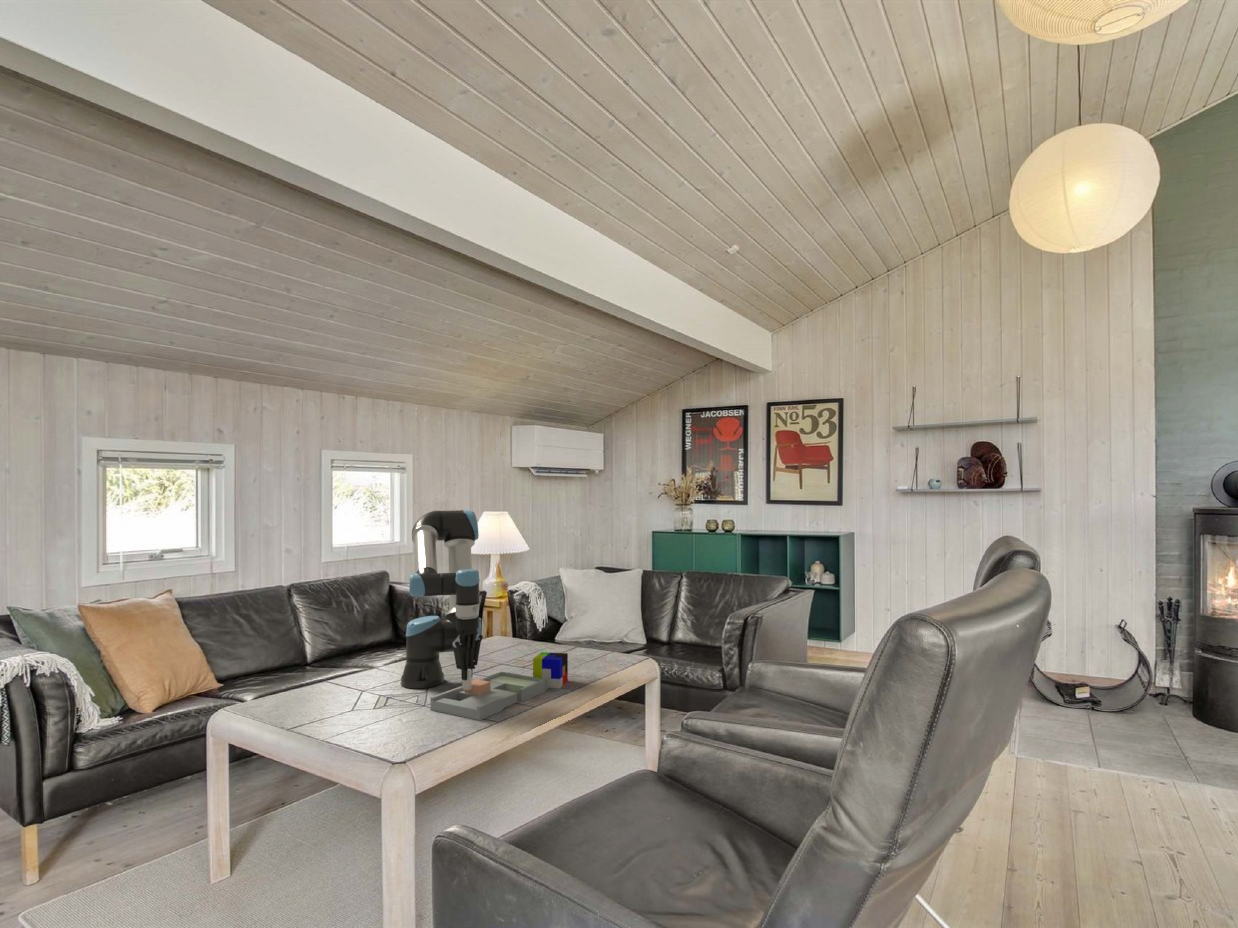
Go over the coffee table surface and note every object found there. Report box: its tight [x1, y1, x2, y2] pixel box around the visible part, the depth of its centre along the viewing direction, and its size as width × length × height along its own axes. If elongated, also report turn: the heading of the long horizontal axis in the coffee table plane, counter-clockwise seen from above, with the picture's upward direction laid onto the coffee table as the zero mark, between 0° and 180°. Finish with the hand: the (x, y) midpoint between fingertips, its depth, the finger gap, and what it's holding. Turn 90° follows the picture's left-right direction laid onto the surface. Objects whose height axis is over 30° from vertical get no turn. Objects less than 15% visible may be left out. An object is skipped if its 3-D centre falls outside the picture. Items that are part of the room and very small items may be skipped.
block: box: [465, 678, 491, 696], centre depth 230 cm, size 6×6×3 cm
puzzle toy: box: [532, 651, 569, 689], centre depth 251 cm, size 10×10×10 cm
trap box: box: [429, 671, 548, 721], centre depth 231 cm, size 20×35×4 cm, turn 150°
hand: (466, 689), depth 228 cm, fingers closed
